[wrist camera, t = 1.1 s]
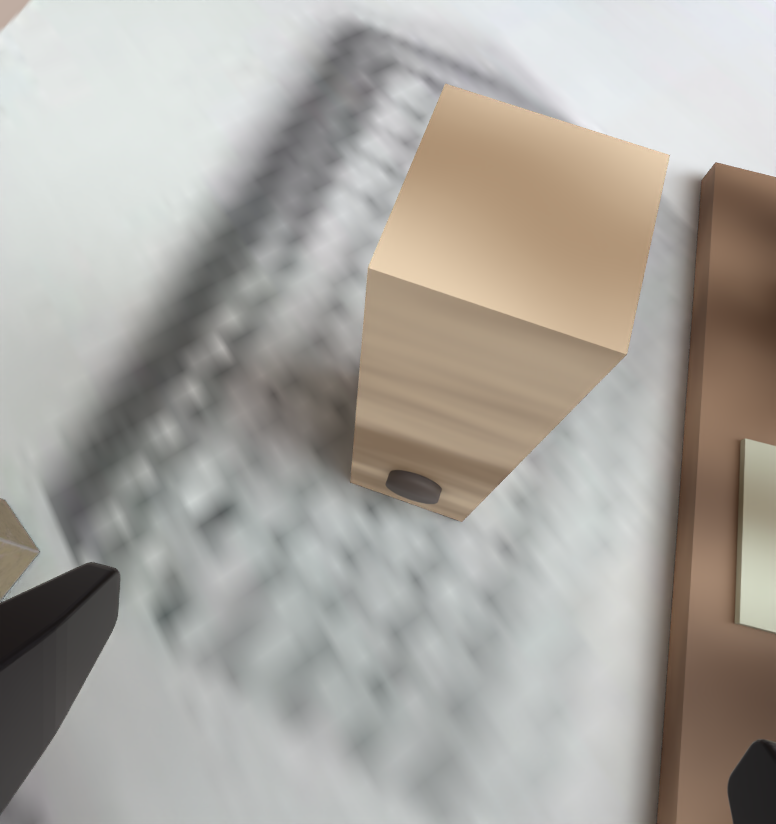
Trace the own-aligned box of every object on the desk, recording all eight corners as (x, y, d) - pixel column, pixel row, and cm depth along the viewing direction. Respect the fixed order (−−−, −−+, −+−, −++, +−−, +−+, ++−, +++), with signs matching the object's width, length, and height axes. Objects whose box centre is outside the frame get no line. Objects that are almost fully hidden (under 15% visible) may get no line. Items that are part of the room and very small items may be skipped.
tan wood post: (458, 532, 23) (622, 375, 10) (346, 492, 23) (359, 287, 10) (495, 408, 25) (673, 139, 12) (391, 372, 25) (451, 69, 12)
